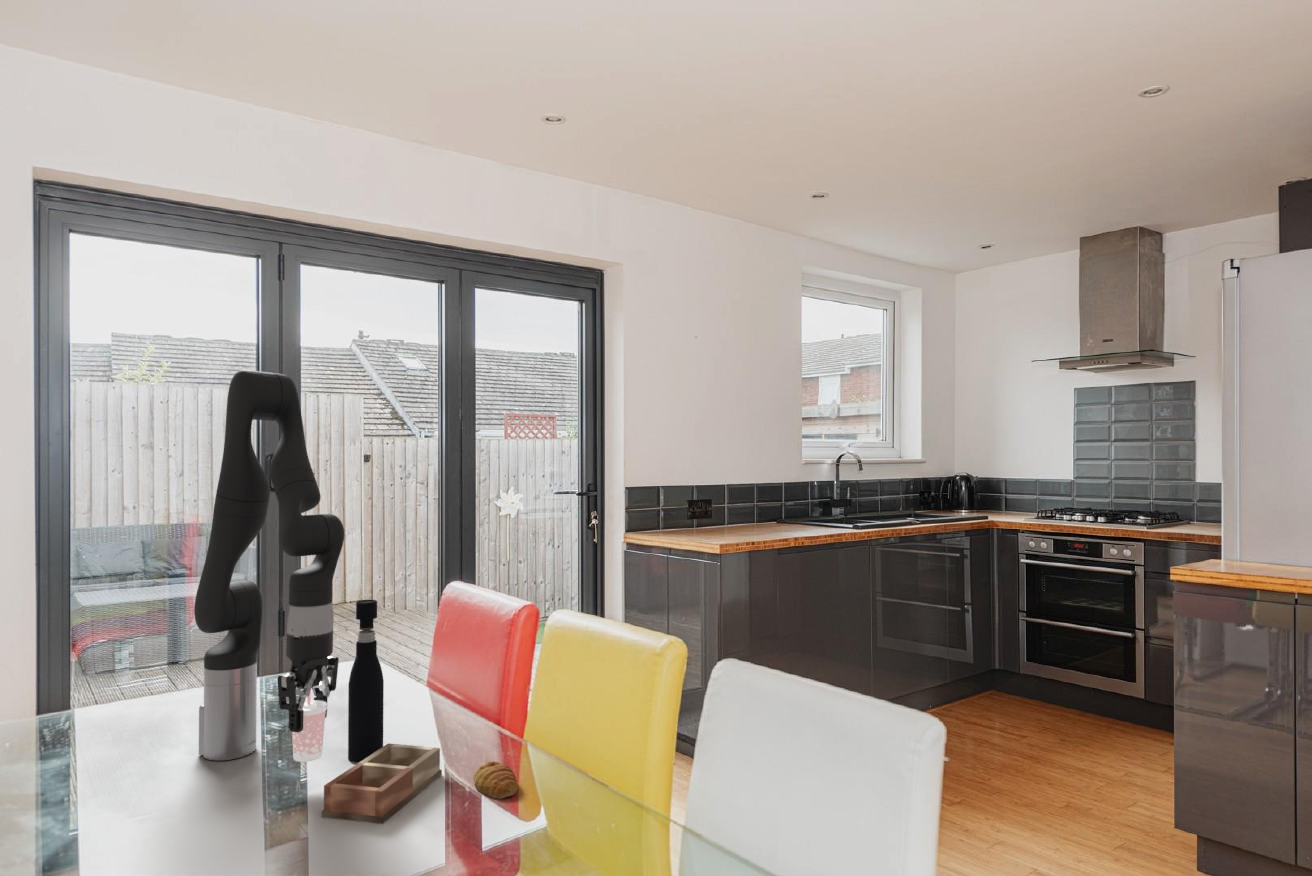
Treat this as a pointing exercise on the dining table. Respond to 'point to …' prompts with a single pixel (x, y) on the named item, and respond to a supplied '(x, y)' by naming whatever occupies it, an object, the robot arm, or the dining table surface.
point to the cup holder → (381, 783)
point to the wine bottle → (365, 689)
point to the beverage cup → (310, 732)
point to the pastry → (495, 780)
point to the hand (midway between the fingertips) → (308, 724)
